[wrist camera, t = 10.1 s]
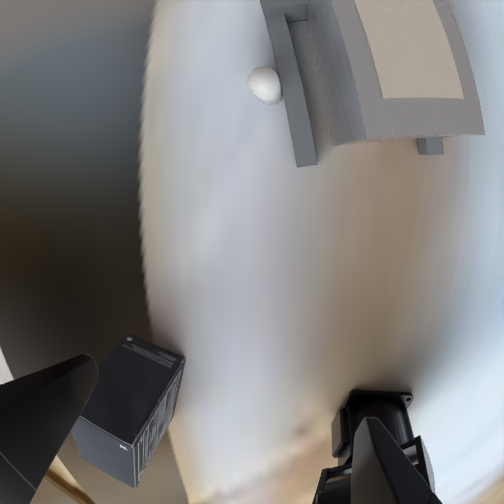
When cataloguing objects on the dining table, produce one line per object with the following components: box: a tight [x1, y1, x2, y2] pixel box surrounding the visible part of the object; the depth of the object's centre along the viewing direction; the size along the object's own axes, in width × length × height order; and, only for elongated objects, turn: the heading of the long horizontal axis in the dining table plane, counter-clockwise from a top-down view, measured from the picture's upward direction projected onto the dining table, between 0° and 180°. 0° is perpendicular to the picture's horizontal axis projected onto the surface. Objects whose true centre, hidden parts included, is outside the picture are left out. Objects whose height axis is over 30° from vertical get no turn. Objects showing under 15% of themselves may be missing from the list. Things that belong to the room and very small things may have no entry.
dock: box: [248, 0, 444, 167], centre depth 14 cm, size 11×13×4 cm
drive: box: [308, 0, 485, 146], centre depth 11 cm, size 8×4×10 cm, turn 11°
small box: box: [71, 333, 185, 488], centre depth 22 cm, size 11×6×10 cm, turn 163°
